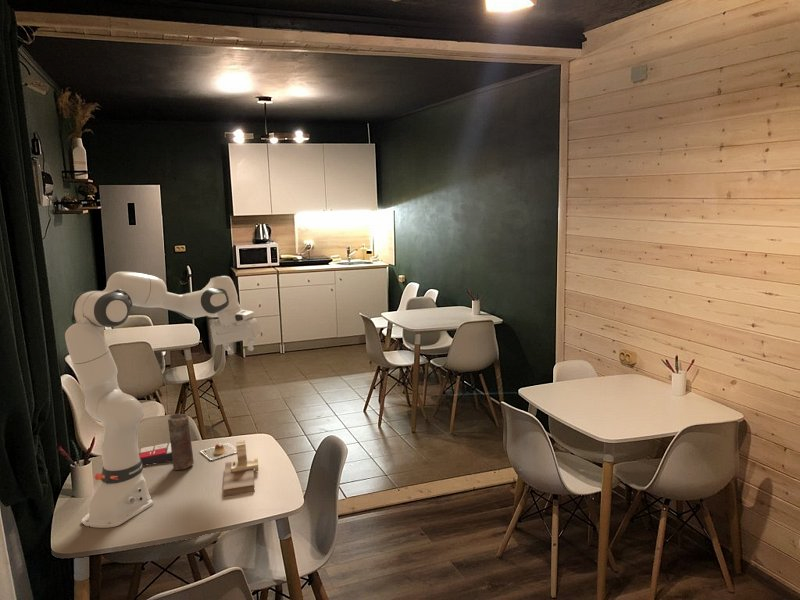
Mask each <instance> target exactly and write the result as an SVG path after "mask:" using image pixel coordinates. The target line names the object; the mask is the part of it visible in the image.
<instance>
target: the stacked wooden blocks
mask: <svg viewBox="0 0 800 600" xmlns="http://www.w3.org/2000/svg"><path fill="white" fill-rule="evenodd" d="M235 443H236V444H235V446H236V447H235V448H237V453H236V454H237V455H236V456H237V460H235V462H233V461H231V462H232V465H231V471H232V472H235V471H242V470H248V469H254V473H255V472H259V461H258V457H256V458H248V456H247V455H248V454H247V448H246V447H247V446H246V440H245V439H244V440H243V439H242V440H238V441H237V440H236V442H235ZM247 459H248V460H247Z"/></svg>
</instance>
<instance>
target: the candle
mask: <svg viewBox="0 0 800 600" xmlns="http://www.w3.org/2000/svg"><path fill="white" fill-rule="evenodd" d="M167 423H168V431H169V440H170V443H171V452H172V460H173V461H172V466H173V467H172V469H173V470H174V471H178V470H186V469H187V468H189V467H191V466H192V465H193V464H194V463H195V461H194V454H193V445H192V444H193V443H192V438H191V437H192V436H191V429H190V420H189V416H188V414H185V413H173V414H170V415H169V416H168V417H167Z"/></svg>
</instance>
